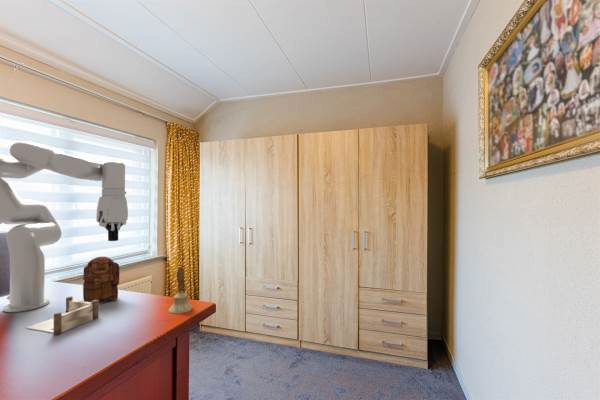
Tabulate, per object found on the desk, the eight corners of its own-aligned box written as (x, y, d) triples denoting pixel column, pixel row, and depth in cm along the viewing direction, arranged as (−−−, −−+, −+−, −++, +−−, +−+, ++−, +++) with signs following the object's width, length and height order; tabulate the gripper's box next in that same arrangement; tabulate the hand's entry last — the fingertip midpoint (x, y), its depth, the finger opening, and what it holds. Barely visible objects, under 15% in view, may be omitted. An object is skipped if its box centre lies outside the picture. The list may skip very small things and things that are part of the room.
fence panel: (89, 318, 96) (89, 301, 96) (93, 319, 96) (93, 301, 96) (51, 334, 85) (52, 314, 85) (56, 335, 84) (56, 315, 84)
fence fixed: (64, 315, 100) (64, 298, 100) (70, 312, 102) (70, 296, 102) (94, 319, 96) (94, 302, 96) (99, 317, 98) (100, 300, 98)
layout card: (26, 328, 89) (26, 327, 89) (61, 316, 99) (61, 315, 99) (53, 333, 86) (53, 331, 86) (85, 320, 96) (85, 318, 96)
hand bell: (181, 315, 100) (181, 270, 100) (163, 312, 103) (163, 268, 103) (197, 307, 108) (197, 265, 108) (180, 304, 111) (180, 263, 111)
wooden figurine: (83, 307, 107) (83, 260, 107) (82, 302, 112) (83, 257, 112) (120, 300, 114) (120, 256, 115) (117, 296, 119) (118, 254, 120)
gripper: (122, 194, 118) (122, 238, 117) (87, 193, 103) (86, 243, 103) (137, 194, 115) (136, 238, 115) (102, 192, 101) (102, 244, 101)
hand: (113, 240), depth 109 cm, fingers closed
